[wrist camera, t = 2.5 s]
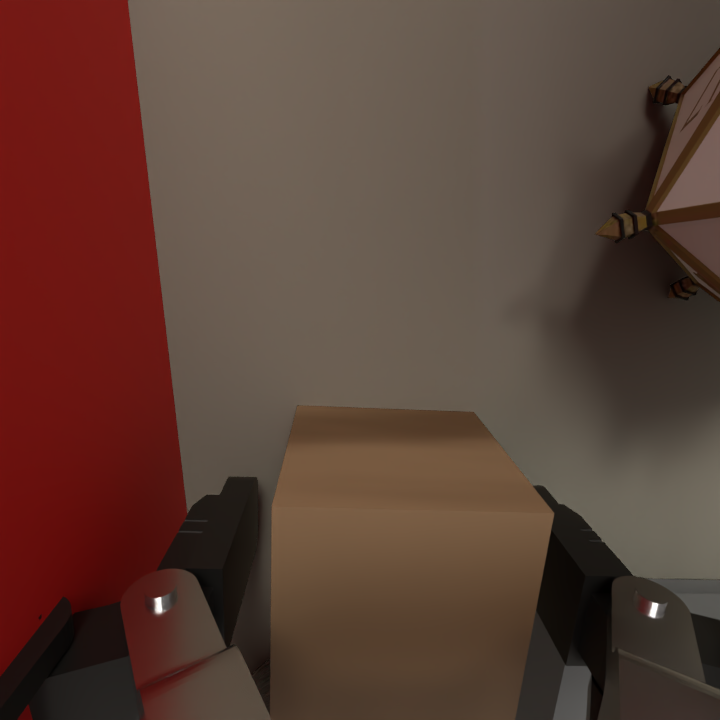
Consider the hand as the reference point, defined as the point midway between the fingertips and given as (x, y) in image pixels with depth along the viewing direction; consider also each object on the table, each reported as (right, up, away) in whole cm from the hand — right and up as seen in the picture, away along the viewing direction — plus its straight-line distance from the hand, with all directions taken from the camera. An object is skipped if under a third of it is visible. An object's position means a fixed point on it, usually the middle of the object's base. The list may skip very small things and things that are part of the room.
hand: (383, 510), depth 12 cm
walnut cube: (0, 0, +1) cm, 1 cm away
